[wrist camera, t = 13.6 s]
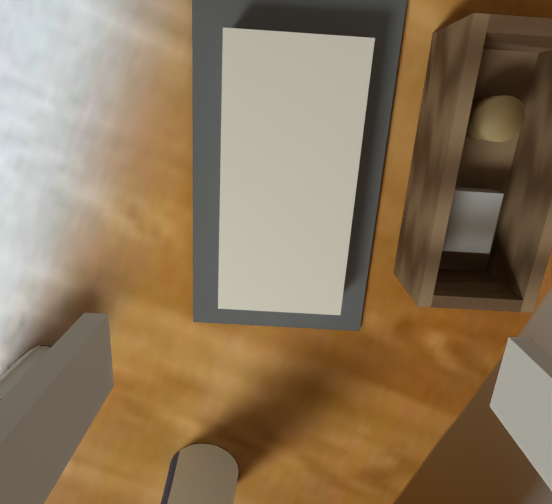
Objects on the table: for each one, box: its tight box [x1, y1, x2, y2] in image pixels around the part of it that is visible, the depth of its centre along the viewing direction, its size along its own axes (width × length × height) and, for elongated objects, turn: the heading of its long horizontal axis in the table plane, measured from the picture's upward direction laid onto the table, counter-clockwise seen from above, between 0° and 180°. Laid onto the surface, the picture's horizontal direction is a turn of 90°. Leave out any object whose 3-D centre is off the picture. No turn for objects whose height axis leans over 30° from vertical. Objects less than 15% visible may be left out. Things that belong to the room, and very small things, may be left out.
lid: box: [218, 28, 375, 315], centre depth 34 cm, size 22×11×3 cm, turn 176°
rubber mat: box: [192, 0, 407, 331], centre depth 35 cm, size 28×16×1 cm, turn 176°
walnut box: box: [393, 13, 552, 313], centre depth 32 cm, size 20×9×7 cm, turn 176°
